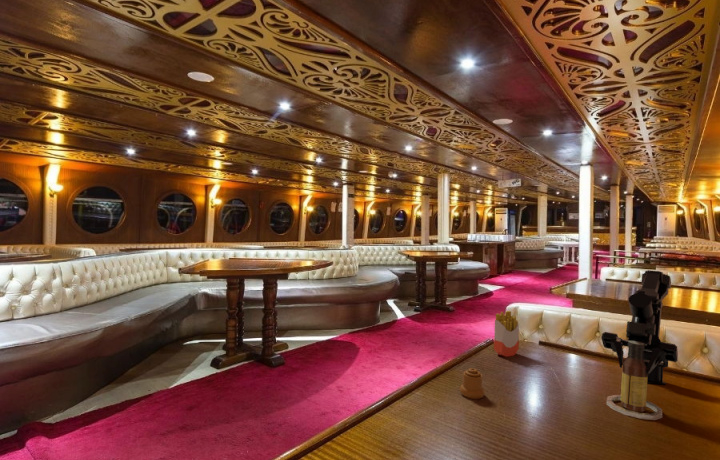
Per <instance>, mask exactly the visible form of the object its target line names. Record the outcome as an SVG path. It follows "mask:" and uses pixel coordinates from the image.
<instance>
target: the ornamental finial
mask: <svg viewBox="0 0 720 460" xmlns="http://www.w3.org/2000/svg"><path fill="white" fill-rule="evenodd" d="M459 392H460V393H461V395H462V396H463V397H465V398H467V399H472V400H480V399H482V398H484V396H485V394H486V392H485V389H484V387H483V375H482V373H481V372H480V371H478V369H476V368H473V367H471V368H468V369H467V370H465V371H463V375H462V384H461V386H460V387H459Z"/></svg>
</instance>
